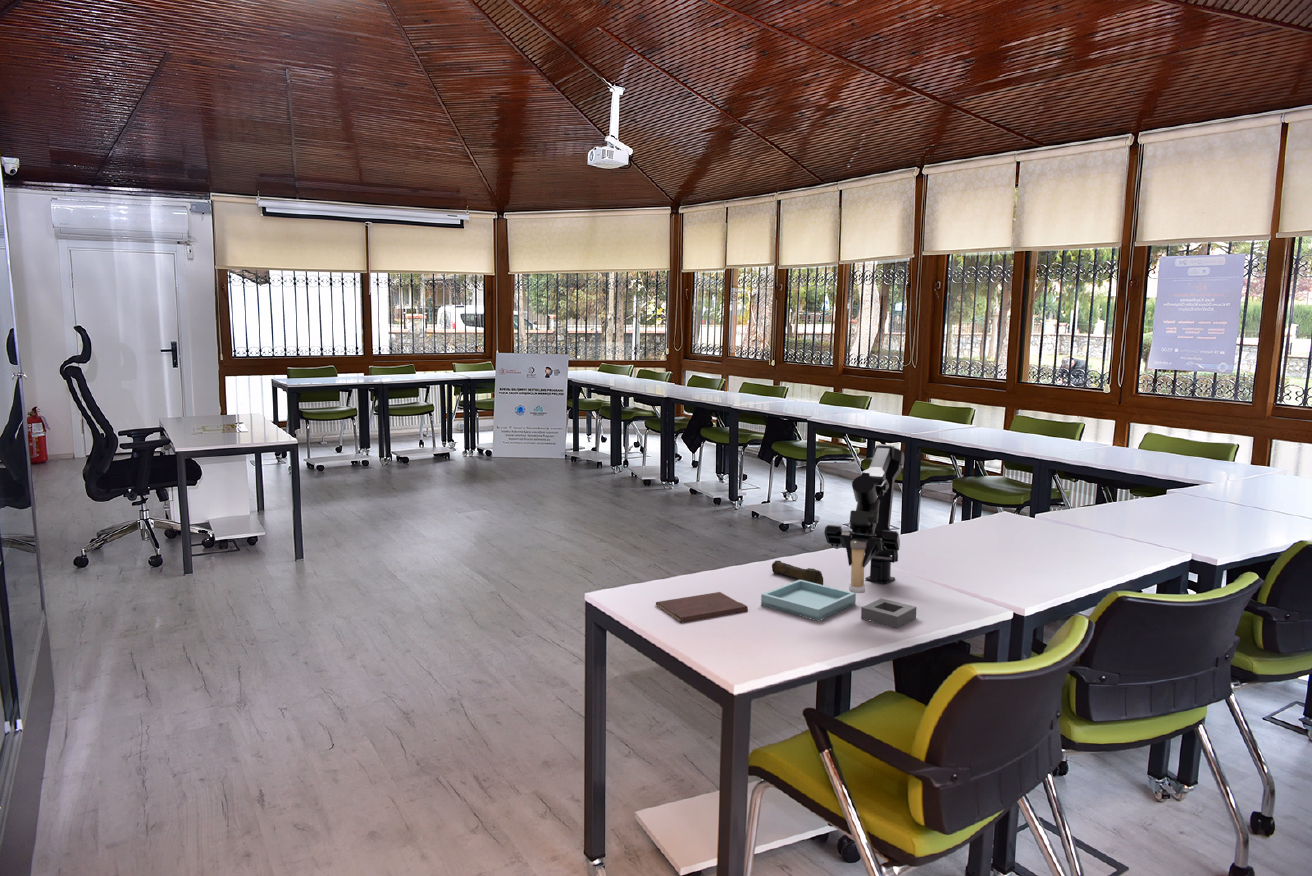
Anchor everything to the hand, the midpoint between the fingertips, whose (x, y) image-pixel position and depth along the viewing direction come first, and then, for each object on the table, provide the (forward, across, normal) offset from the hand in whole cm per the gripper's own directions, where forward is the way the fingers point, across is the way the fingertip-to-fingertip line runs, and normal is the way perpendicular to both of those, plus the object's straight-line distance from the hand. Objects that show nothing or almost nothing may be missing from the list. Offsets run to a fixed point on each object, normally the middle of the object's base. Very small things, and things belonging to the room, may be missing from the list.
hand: (856, 565), depth 212 cm
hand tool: (-8, -22, +28) cm, 37 cm away
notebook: (+17, -39, +3) cm, 42 cm away
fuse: (+4, 0, +6) cm, 7 cm away
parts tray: (+6, -13, +13) cm, 20 cm away
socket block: (+8, +8, +11) cm, 16 cm away
